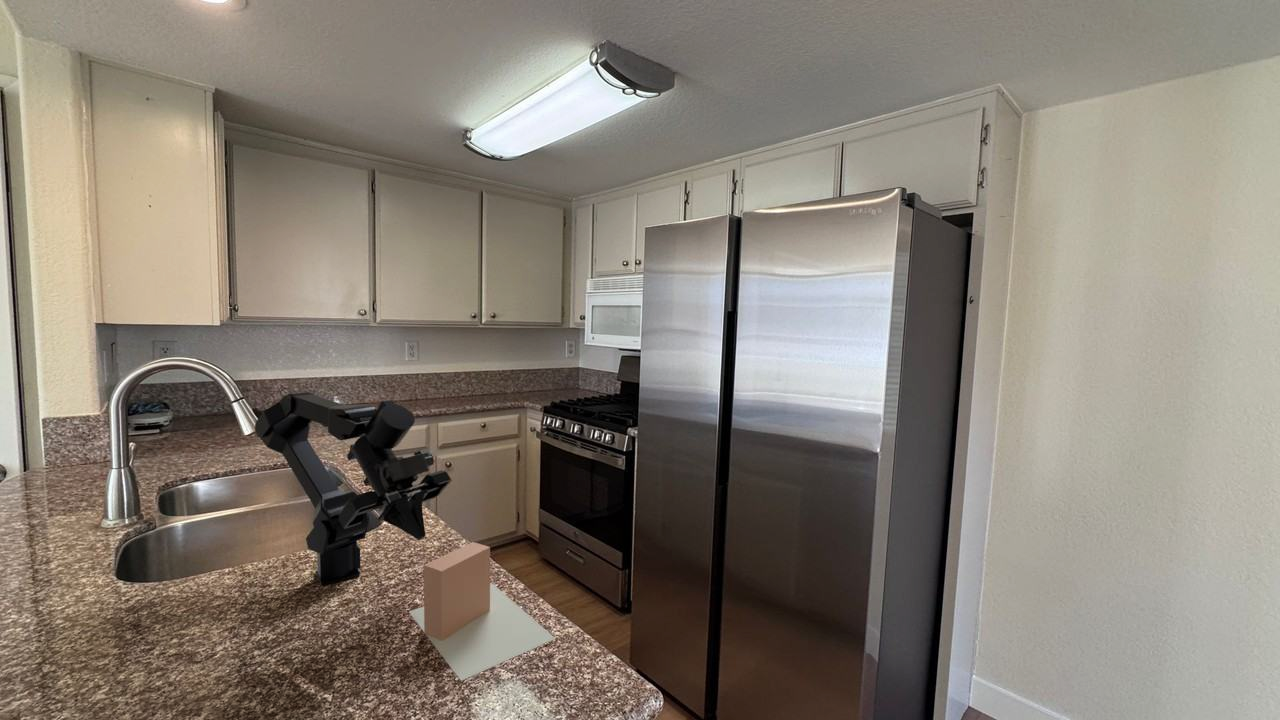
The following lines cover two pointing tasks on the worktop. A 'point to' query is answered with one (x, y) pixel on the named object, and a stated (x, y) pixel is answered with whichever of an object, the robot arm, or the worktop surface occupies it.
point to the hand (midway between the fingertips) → (422, 537)
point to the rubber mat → (489, 637)
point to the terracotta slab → (456, 590)
